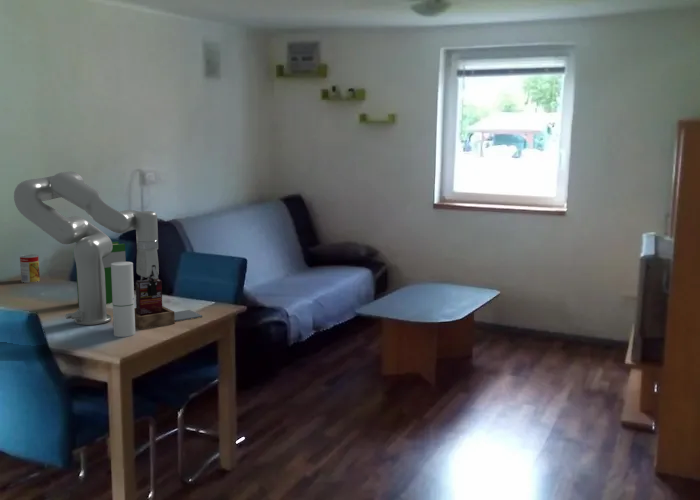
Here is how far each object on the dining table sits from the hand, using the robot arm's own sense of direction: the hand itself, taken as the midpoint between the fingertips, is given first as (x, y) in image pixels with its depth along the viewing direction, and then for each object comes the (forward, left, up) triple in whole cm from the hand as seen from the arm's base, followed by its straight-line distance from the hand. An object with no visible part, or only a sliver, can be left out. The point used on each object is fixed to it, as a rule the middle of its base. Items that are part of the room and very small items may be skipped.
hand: (149, 293), depth 252 cm
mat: (+13, +1, -11) cm, 17 cm away
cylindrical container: (-13, -9, -11) cm, 19 cm away
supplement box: (0, 0, -11) cm, 11 cm away
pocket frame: (0, 0, -11) cm, 11 cm away
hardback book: (-3, +41, -11) cm, 43 cm away
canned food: (-16, +100, -11) cm, 102 cm away
